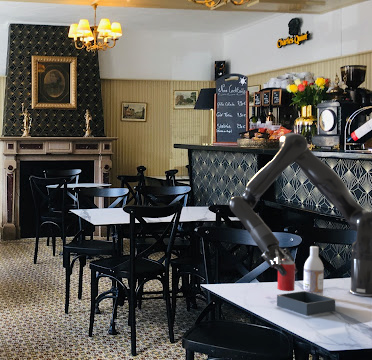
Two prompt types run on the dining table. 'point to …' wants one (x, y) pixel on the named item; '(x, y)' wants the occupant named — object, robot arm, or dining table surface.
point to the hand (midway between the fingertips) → (290, 273)
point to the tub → (306, 303)
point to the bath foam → (313, 273)
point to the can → (287, 277)
